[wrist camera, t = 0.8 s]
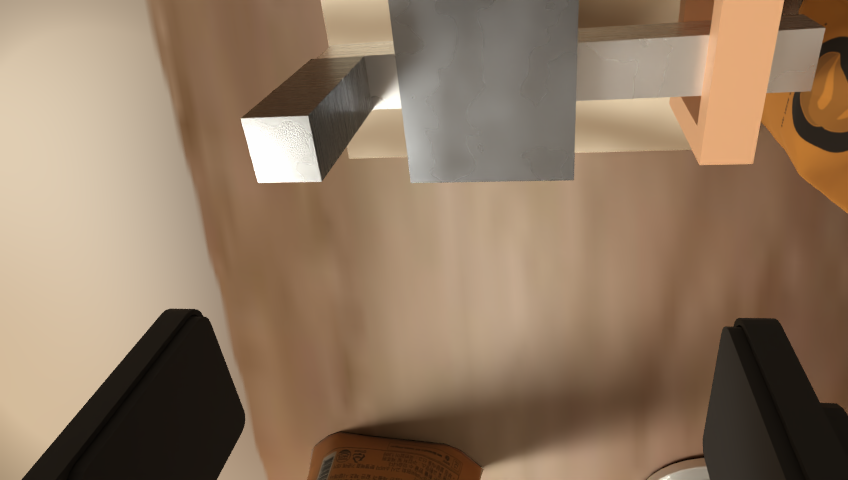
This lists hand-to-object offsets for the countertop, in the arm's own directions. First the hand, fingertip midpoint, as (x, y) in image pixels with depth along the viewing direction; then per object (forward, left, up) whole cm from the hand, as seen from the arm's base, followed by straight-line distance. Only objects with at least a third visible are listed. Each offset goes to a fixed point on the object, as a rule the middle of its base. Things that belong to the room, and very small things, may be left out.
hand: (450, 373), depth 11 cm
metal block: (0, +1, -28) cm, 28 cm away
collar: (0, -9, -24) cm, 25 cm away
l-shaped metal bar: (0, -2, -20) cm, 20 cm away
